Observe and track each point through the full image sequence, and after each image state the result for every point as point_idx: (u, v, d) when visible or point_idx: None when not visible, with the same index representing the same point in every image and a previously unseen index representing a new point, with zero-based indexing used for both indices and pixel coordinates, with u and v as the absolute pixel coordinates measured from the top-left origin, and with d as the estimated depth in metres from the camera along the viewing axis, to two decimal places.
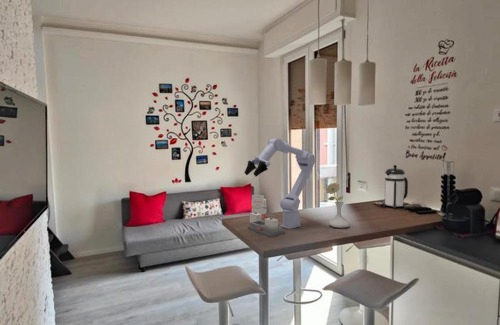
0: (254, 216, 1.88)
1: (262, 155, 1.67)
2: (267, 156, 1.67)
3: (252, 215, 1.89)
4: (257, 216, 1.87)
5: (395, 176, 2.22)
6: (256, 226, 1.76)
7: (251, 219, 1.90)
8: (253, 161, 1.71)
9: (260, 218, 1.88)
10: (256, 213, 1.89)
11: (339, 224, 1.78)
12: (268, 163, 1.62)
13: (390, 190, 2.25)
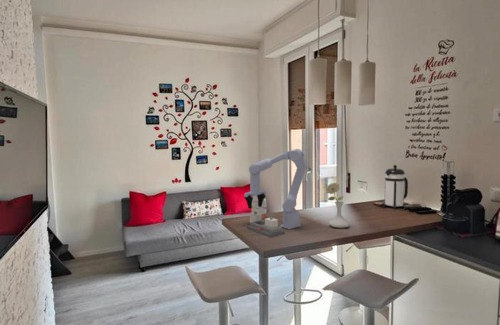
0: (254, 216, 1.88)
1: None
2: (250, 186, 1.87)
3: (252, 215, 1.89)
4: (257, 216, 1.87)
5: (395, 176, 2.22)
6: (256, 226, 1.76)
7: (251, 219, 1.90)
8: (260, 192, 1.92)
9: (260, 218, 1.88)
10: (256, 213, 1.89)
11: (339, 224, 1.78)
12: (245, 194, 1.84)
13: (390, 190, 2.25)
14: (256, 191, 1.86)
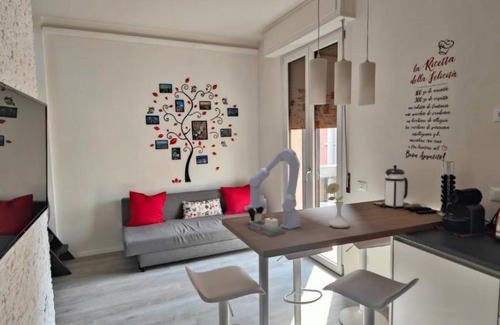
0: (254, 216, 1.88)
1: None
2: (251, 199, 1.88)
3: None
4: (257, 216, 1.87)
5: (395, 176, 2.22)
6: (256, 226, 1.76)
7: None
8: (261, 205, 1.93)
9: (260, 218, 1.88)
10: (256, 213, 1.89)
11: (339, 224, 1.78)
12: (245, 208, 1.85)
13: (390, 190, 2.25)
14: (256, 204, 1.87)
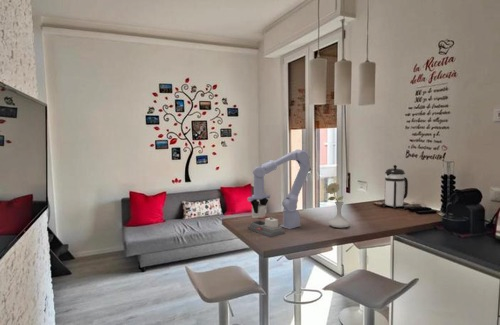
0: None
1: None
2: (254, 190, 1.78)
3: None
4: (260, 208, 1.78)
5: (395, 176, 2.22)
6: (256, 226, 1.76)
7: None
8: (265, 196, 1.83)
9: (264, 210, 1.79)
10: (259, 205, 1.80)
11: (339, 224, 1.78)
12: (248, 199, 1.76)
13: (390, 190, 2.25)
14: (260, 195, 1.77)
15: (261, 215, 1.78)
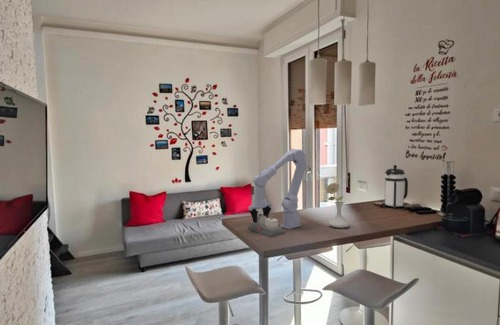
0: (258, 218, 1.76)
1: None
2: (255, 199, 1.76)
3: None
4: (262, 218, 1.76)
5: (395, 176, 2.22)
6: (256, 226, 1.76)
7: None
8: (266, 204, 1.81)
9: None
10: (261, 215, 1.78)
11: (339, 224, 1.78)
12: (249, 208, 1.74)
13: (390, 190, 2.25)
14: (261, 204, 1.75)
15: None
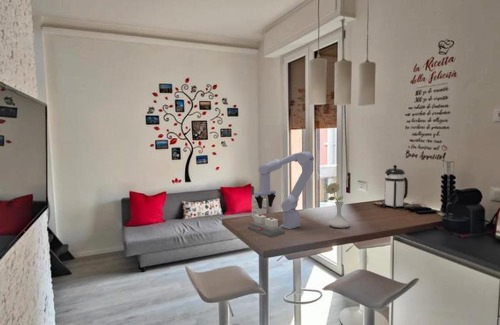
0: (258, 218, 1.76)
1: None
2: (261, 186, 1.88)
3: (256, 217, 1.78)
4: (262, 218, 1.76)
5: (395, 176, 2.22)
6: (256, 226, 1.76)
7: (255, 221, 1.79)
8: (270, 192, 1.93)
9: None
10: (261, 215, 1.78)
11: (339, 224, 1.78)
12: (255, 194, 1.85)
13: (390, 190, 2.25)
14: (266, 191, 1.87)
15: None
